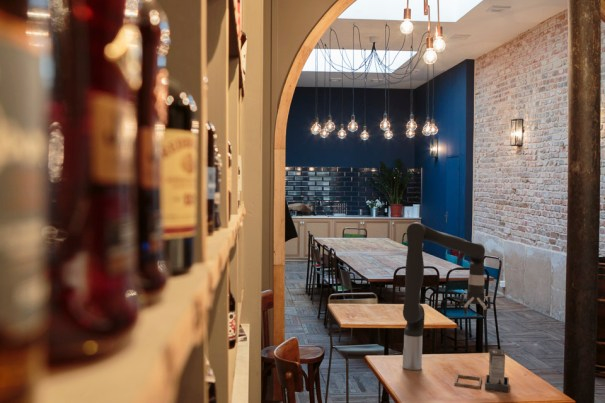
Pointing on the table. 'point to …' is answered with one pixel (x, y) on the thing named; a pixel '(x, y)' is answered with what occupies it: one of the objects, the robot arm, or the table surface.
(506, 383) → the box
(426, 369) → the table surface
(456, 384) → the tray frame
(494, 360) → the coffee box
